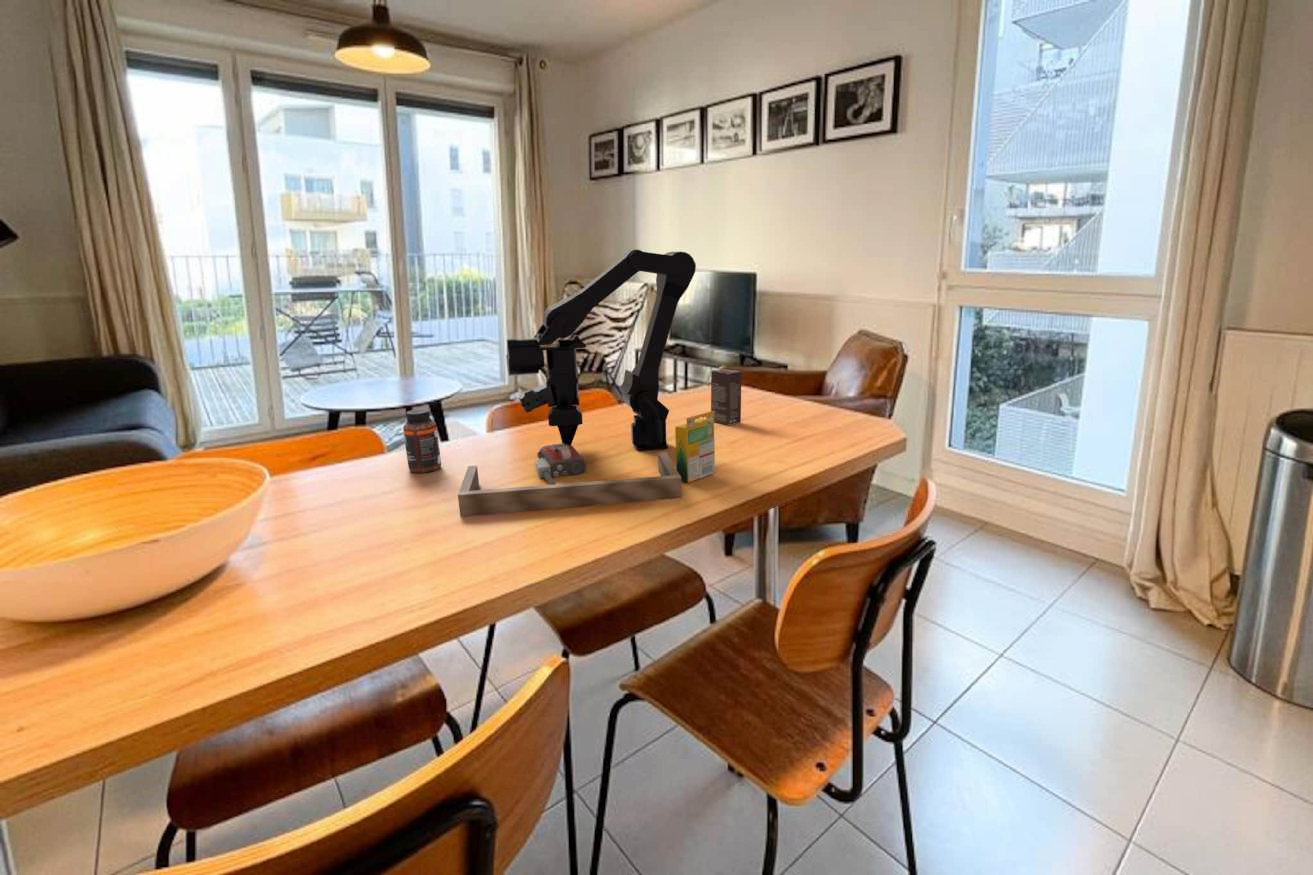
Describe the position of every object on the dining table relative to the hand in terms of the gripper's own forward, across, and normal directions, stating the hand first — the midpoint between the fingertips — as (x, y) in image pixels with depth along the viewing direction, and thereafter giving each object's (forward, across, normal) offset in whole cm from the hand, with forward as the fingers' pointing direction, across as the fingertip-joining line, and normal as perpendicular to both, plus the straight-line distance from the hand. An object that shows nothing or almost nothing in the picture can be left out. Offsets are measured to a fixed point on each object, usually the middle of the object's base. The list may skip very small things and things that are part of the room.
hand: (566, 449), depth 133 cm
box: (+1, -17, +37) cm, 41 cm away
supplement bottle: (+2, +3, -27) cm, 27 cm away
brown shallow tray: (+1, +21, 0) cm, 21 cm away
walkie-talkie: (+2, +11, -1) cm, 11 cm away
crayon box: (+1, +19, +22) cm, 29 cm away
